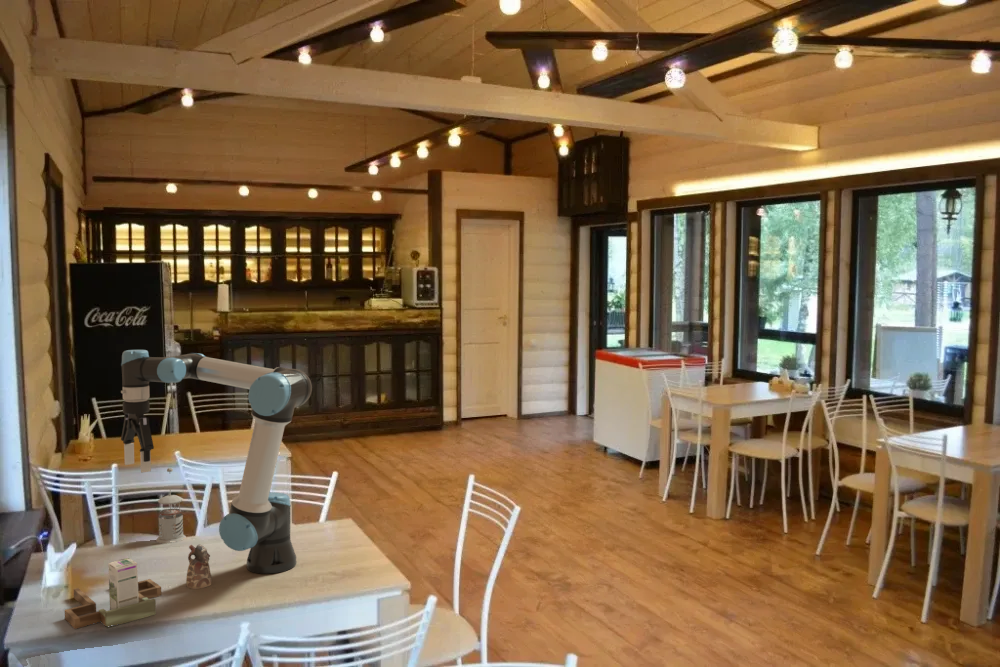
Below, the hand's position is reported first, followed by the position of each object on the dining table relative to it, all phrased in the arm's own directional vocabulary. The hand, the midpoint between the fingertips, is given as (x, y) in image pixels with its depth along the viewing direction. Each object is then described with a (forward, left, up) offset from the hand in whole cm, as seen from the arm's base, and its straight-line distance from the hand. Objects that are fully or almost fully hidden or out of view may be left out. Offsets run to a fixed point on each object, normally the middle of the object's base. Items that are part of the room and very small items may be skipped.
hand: (137, 468), depth 247 cm
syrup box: (-21, +31, -32) cm, 49 cm away
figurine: (-26, +6, -32) cm, 42 cm away
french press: (+10, -28, -32) cm, 44 cm away
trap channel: (-13, +26, -32) cm, 43 cm away
